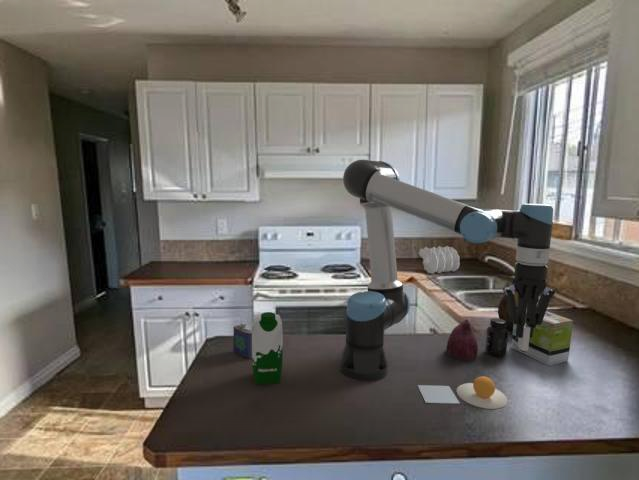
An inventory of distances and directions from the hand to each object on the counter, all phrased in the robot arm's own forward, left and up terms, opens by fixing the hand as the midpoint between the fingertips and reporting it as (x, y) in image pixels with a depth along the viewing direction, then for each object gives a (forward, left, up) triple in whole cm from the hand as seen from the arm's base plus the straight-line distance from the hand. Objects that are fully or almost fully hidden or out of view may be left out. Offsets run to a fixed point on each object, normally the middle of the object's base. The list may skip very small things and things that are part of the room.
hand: (522, 348), depth 107 cm
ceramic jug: (+25, +51, -14) cm, 59 cm away
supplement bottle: (+6, +28, -14) cm, 32 cm away
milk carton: (-70, +7, -14) cm, 72 cm away
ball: (-10, 0, -11) cm, 15 cm away
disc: (-10, 0, -14) cm, 17 cm away
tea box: (+21, +28, -14) cm, 38 cm away
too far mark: (-22, 0, -14) cm, 26 cm away
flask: (-80, +22, -14) cm, 84 cm away
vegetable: (-6, +27, -14) cm, 31 cm away
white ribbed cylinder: (+25, +156, -14) cm, 158 cm away
